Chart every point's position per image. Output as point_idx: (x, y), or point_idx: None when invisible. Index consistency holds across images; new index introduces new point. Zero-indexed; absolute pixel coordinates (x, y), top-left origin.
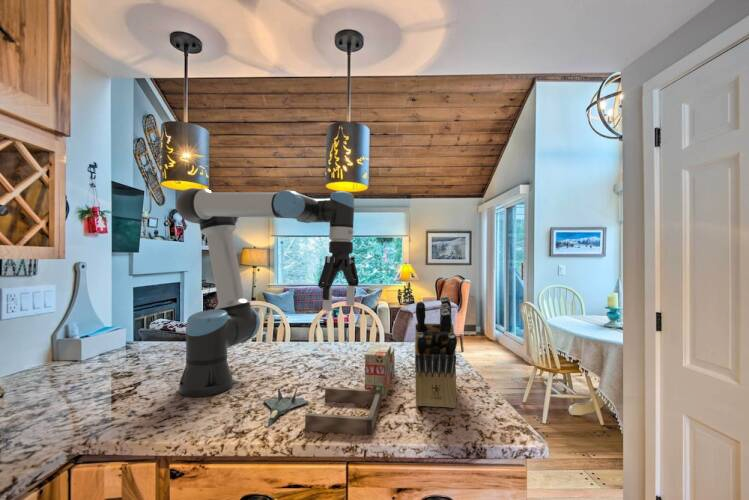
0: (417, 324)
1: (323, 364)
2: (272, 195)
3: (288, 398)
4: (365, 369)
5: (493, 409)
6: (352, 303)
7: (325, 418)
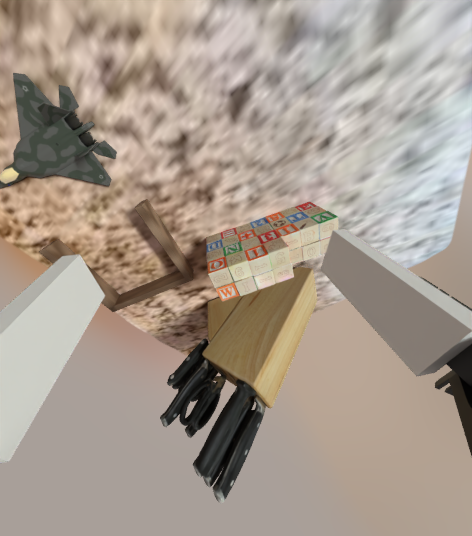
0: (245, 390)
1: (331, 13)
2: None
3: (79, 133)
4: (206, 258)
5: None
6: (328, 273)
7: None
